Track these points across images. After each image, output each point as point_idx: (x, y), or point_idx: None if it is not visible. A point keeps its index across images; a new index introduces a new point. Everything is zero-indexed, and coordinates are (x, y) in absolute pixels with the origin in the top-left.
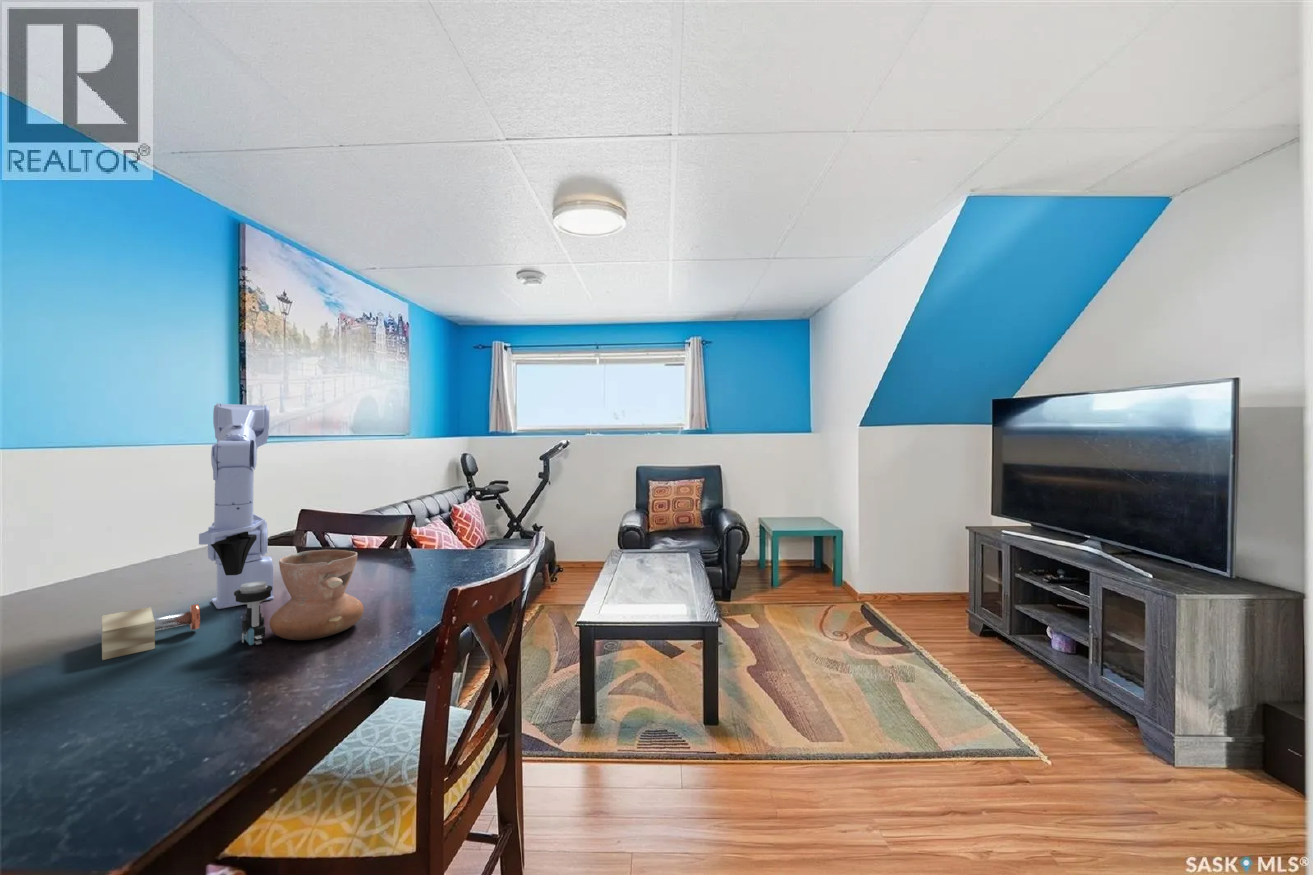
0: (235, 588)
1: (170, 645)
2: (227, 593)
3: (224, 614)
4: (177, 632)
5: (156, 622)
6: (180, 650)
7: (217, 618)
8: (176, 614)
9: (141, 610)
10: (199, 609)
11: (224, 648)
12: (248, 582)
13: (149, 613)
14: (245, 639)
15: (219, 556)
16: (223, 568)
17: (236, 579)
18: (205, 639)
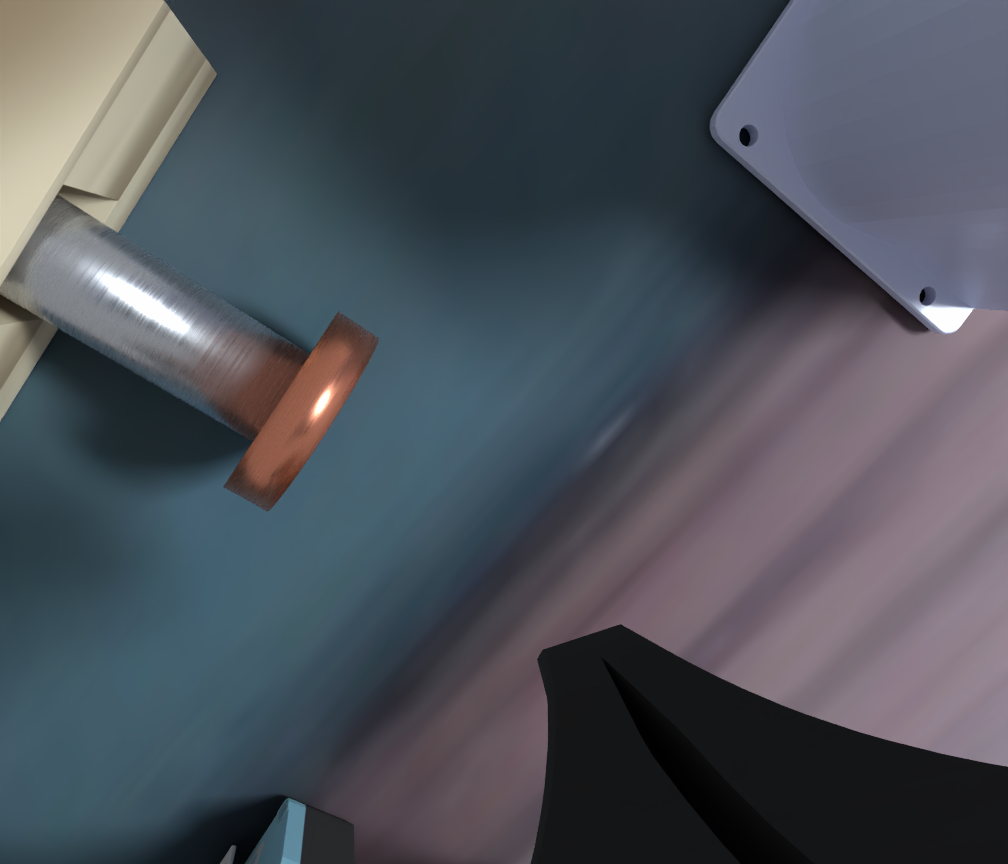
0: (888, 164)
1: (71, 477)
2: (840, 115)
3: (634, 266)
4: (270, 282)
5: (36, 314)
6: (28, 622)
7: (556, 295)
8: (181, 356)
9: (50, 17)
10: (274, 503)
11: (135, 829)
12: (981, 221)
13: (11, 203)
14: (272, 823)
15: (536, 844)
16: (552, 685)
17: (960, 155)
18: (218, 592)
